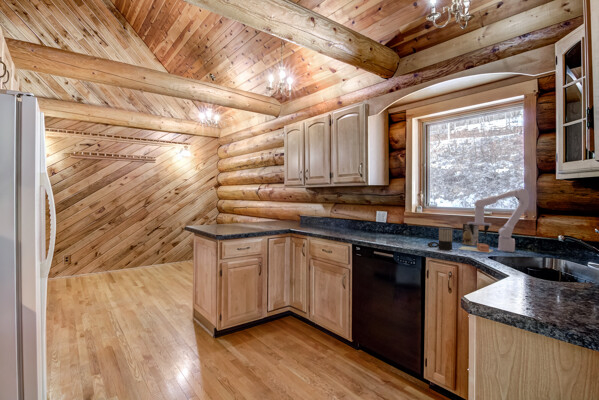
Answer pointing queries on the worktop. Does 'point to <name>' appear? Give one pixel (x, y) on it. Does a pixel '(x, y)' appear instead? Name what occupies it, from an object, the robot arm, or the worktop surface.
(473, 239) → the coffee box
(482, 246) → the block
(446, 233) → the milk frother
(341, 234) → the worktop surface
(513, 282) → the worktop surface
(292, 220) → the worktop surface
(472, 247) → the mat
